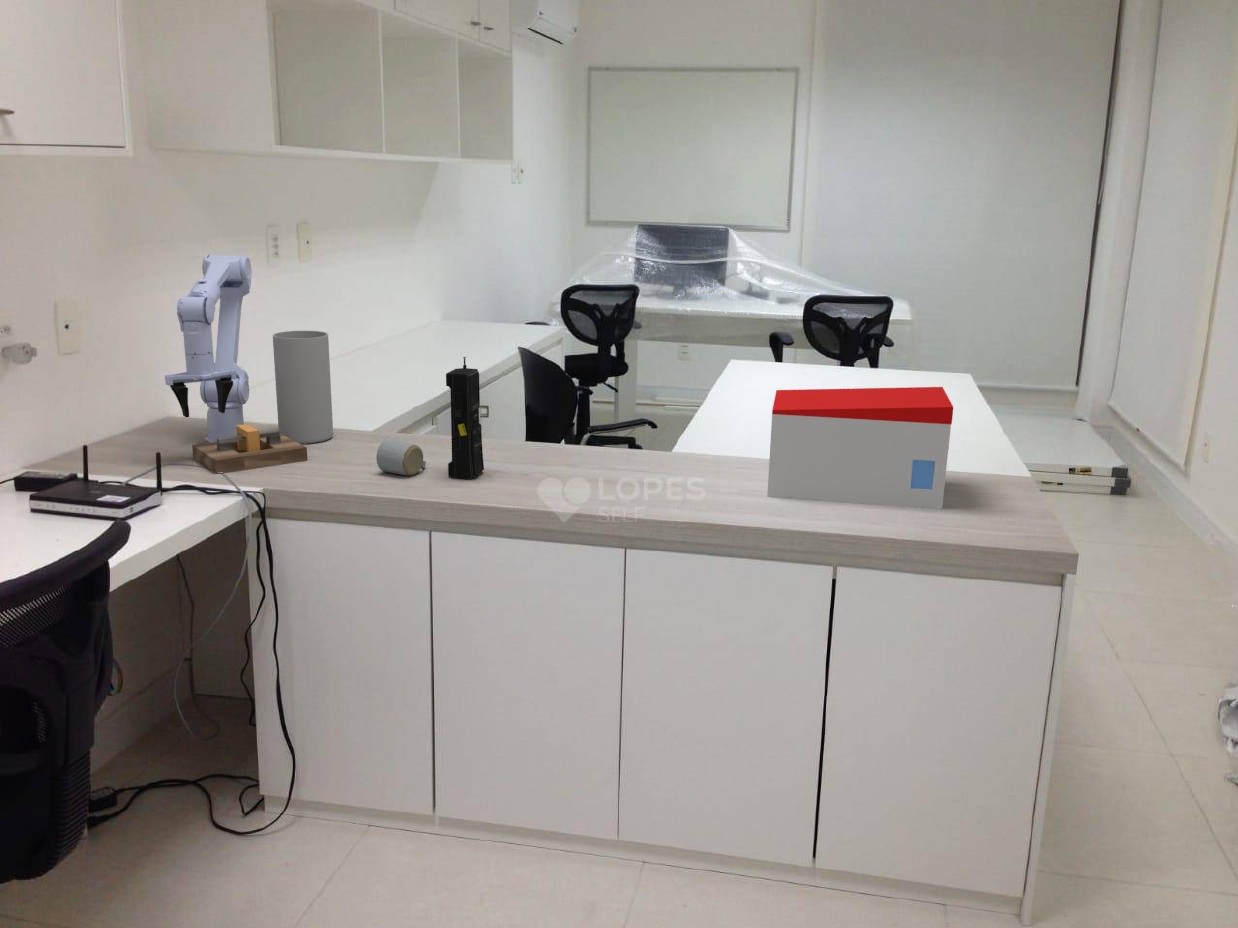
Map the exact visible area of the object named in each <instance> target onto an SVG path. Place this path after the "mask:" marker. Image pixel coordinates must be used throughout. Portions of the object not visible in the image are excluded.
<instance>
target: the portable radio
mask: <svg viewBox="0 0 1238 928" xmlns="http://www.w3.org/2000/svg"><path fill="white" fill-rule="evenodd" d="M462 357H463V365H462V367H461V368H455V369H452V370H451V371H448V372H446V374H445V386H446V387H449V389H450V427H451V430H450V431H451V461H450V462H448V464H447V471H448V472H447V473H448V475H447V476H448V478H450V479H451V478H452V479H459V480H460V479H461V480H469V481H470V480H474V479H475V478H476V477H478V476H479V475H480V474H481V473H482V472H483V471H484V470H485V466H484V465H485V464H484V454H483V452H484V451H483V436H482V424H481V423H480V407H481V406H480V405H481V403H480V402H481V401H480V398H481V397H480V396H481V395H480V372H479V369H478V368H468V367H467V364H466V358H467V357H466V356H462Z"/></svg>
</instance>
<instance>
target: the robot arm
mask: <svg viewBox="0 0 1238 928" xmlns="http://www.w3.org/2000/svg"><path fill="white" fill-rule="evenodd" d="M201 263H202V265H201V269H202V275H203V277H202V278H199V279H198V280H196V282H195V283H194V284H193V286H192V288H191V289H190V292H189V293H188V294H187V296H182V297H181V298H179V299H178V301H177V305H176V315H177V320H178V322H179V326H180V328H179V329H180V331H181V332H182V334H183V346H184V358H185V367H186V368H185V369H186V370H185V371H184V372H180V373H179V372H178V373H175V374H174V373H173V374H165V375H164V382H165V385H167V386H169V387H170V389H171V391H172V392H173V394H174V395H175V397H176V400H177V401H178V404H179V406H180V409H181V413H182V417H185V418H190V409H189V387H187V385H186V384H192V383H200V385H199V386H200V387H199V394H200V399H201V401H202V402H203V403H204V404H205V405H206V408H208V409H207V410H206V420H207V432H208V433H207V434H208V437H204V440H205V441H206V442H207V443H208V442H215V441H217V438H223V437H230V436H237V433H236V425H243V424H245V423H244V409H243V408H244V407H243V405H246V403H247V402H248V401H249V399H250V385H249V383H250V382H249V375H248V372H247V371H246V370H245V369H244V368H243V367H241V366H239V365H238V358H239V357H238V355H239V342H240V341H239V340H240V330H241V329H240V327H241V317H242V314H241V313H242V312H241V311H242V304H243V300H244V297H245V296H246V295H247V296H248V294H250V289H251V284H252V274H253V273H252V264H251V263H252V262H251V260H250V258H249V257H248V256H247V254H242V255H239V254H238V255H235V254H234V255H232V254H208V253H207V254H205V256H204V257H203V258H202V262H201ZM218 300H219V312H218V326H217V336H216V350H215V355H214V344H213V333H212V332H213V331H212V324H213V323H214V320H215V319H214V318H215V312H216V305H217V303H218ZM214 357H215V359H214Z"/></svg>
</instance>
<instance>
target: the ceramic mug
mask: <svg viewBox="0 0 1238 928" xmlns="http://www.w3.org/2000/svg"><path fill="white" fill-rule="evenodd" d="M426 464H427V461H425V460H424V452H423V450H422V448H421V447H420V446H418V445H417V444H415V443H413V442H408V441H405V440H400V439H397V438H394V437H387V438H385V439H384V440H382V442H380V444H379V446H378V448H377V451H376V465H377V466H378V468H379V469H380V470H381V471H382V472H385V473H386V472H387V473H392V474H397V475H402V476H410V477H411V476H415V475H416V474H417V473H418V472H419V471H420V470H421V469H425V468H426Z"/></svg>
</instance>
